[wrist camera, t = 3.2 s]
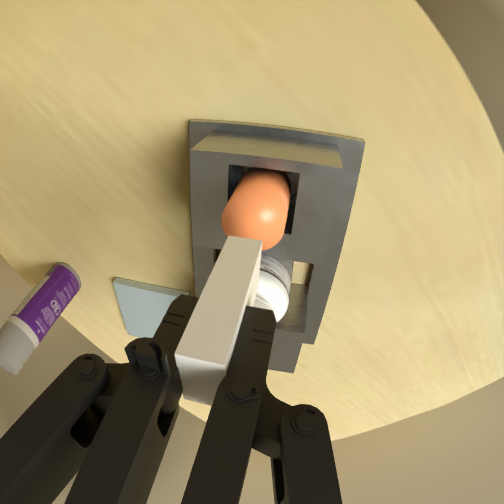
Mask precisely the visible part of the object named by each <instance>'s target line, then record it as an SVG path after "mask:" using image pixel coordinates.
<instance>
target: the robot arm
mask: <svg viewBox="0 0 504 504" xmlns="http://www.w3.org/2000/svg"><path fill="white" fill-rule="evenodd" d="M261 252H262V240H255V239H249V238H242V237H236V236H228V238H227V240H226V242H225V244H224V246H223V248H222V251H221V253H220V255H219V257H218V259H217V261H216V263H215V266H214V268H213V270H212V272H211V274H210V276H209V278H208V281H207V283H206V285H205V287H204V289H203V291H202V294H201V296H200V298H199V297H194V296H189V295H184V294H181V295H180V296H178V297H177V298H176V299H175V300H173V301H172V302H171V304H170V306H169V308H168V310H167V311H166V314H165V315H164V317H163V319H162V322H161V323H160V325H159V327H158V328H157V330H156V332H155V334H154V336H153V338H148V337H143V338H138V339H135V340H133V341H132V342H130V343H129V344H128V345H127V346H126V347H125V348H124V349H125V351H126V354H127V357H128V360H129V362H130V363H123V364H112V363H111V364H110V363H105V362H104V360H103V359H102V358H101V357H100V356H97V355H95V354H84V355H81V356H79V357H78V358H76V359H75V360H74V361H73V362H72V363H71V364H70V365H69V366H68V367H67V368H66V369H65V370H64V371H63V372H62V373H61V374H60V375H59V376H58V377H57V378H56V379H55V380H54V382H52V383H51V384H50V386H49V387H48V388H47V389H46V390H45V391H44V392H43V393H42V394H41V395H40V396H39V397H38V398H37V399H36V400H35V401H34V402H33V404H32V405H31V406H30V407H29V408H28V409H27V410H26V411H25V412H24V413H23V414H22V415H21V417H20V418H19V419H18V420H17V421H16V422H15V423H14V424H13V425H12V426H11V428H10V429H9V430H8V431H7V432H6V433H5V434H4V435H3V437H2V438H1V439H0V504H52V502H53V501H54V500H55V499H56V497H57V496H58V495H59V494H60V493H61V491H62V490H63V489H64V488H65V486H66V485H67V484H68V483H69V482H70V480H71V479H72V478H73V477H74V475H75V474H76V473H77V472H78V474H77V476H76V478H75V481H74V483H73V485H72V487H71V490H70V492H69V494H68V497H67V499H66V501H65V504H146V503H147V500H148V497H149V494H150V491H151V488H152V486H153V483H154V480H155V477H156V474H157V472H158V469H159V466H160V463H161V460H162V457H163V455H164V452H165V449H166V447H167V444H168V441H169V438H170V435H171V433H172V430H173V427H174V424H175V422H176V419H177V416H178V414H179V403H178V402H179V400H180V397H181V394H182V393H183V397H184V399H187V400H191V401H195V402H199V403H203V404H207V405H212V407H211V410H210V413H209V416H208V420H207V423H206V426H205V429H204V433H203V436H202V439H201V442H200V445H199V448H198V452H197V455H196V458H195V461H194V464H193V467H192V471H191V474H190V477H189V480H188V483H187V486H186V489H185V492H184V496H183V499H182V502H181V504H239V500H240V495H241V491H242V487H243V483H244V479H245V475H246V470H247V466H248V462H249V457H250V453H251V448H253V449H255V450H257V451H259V452H261V453H263V454H265V455H267V456H269V457H271V468H272V479H273V489H274V501H275V504H342V499H341V494H340V488H339V482H338V477H337V471H336V466H335V461H334V456H333V450H332V445H331V440H330V435H329V430H328V425H327V421H326V418H325V416H324V414H323V413H322V412H321V411H320V410H319V409H318V408H316V407H314V406H311V405H306V404H299V405H295V406H291V405H289V404H286V403H284V402H282V401H280V400H279V399H277V398H275V397H274V396H273V395H272V394H271V393H270V391H269V389H268V388H267V384H266V376H267V371H268V366H269V360H270V355H271V350H272V344H273V339H274V333H275V327H276V322H277V321H276V318H275V315H274V312H273V310H269V309H263V308H257V307H253V305H254V301H255V297H256V294H257V290H258V282H259V272H260V262H261ZM78 470H79V471H78Z"/></svg>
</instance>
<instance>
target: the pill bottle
mask: <svg viewBox="0 0 504 504" xmlns="http://www.w3.org/2000/svg"><path fill="white" fill-rule="evenodd" d="M293 262H294V261H292V260H285V259H279V258H272V257H266V256H261V262H260V272H259V282H258V290H257V294H256V297H255V301H254V305H253V307H257V308H263V309H269V310H273V312H274V315H275V318H276V321H277V322H278V321H279V320H280V319H281V318H282V317H283V316H284V314H285V313H286V310H287V308H288V303H289V296H290V288H291V279H292V271H293ZM277 322H276V323H277Z"/></svg>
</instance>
